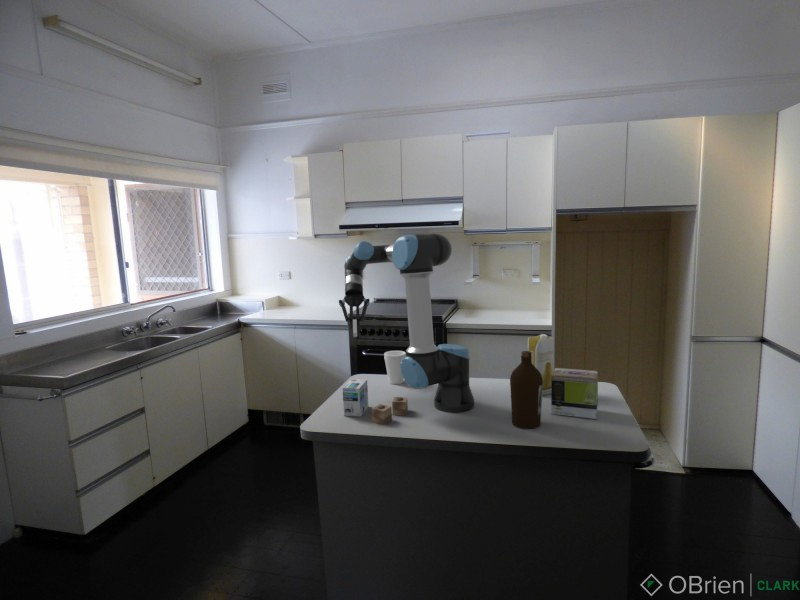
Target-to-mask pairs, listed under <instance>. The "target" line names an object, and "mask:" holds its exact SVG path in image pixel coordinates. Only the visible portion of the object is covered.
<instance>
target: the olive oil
mask: <svg viewBox="0 0 800 600" xmlns="http://www.w3.org/2000/svg"><path fill="white" fill-rule="evenodd" d="M531 361H532V356H531V352H530V351H528V350H522V351H521V355H520V363H519V364H518V365H517V366H516V367H515V368H514V369H513V370H512V371H511V374H510V377H509V382H510V383H509V386H510V388H509V389H510V402H511V403H510V405H511V407H510V408H511V424H512V425H513V426H514V427H516V428H518V427H519V428H518V429H523V430H534V429H538V428H539V427H540V426H541V424H542V423H541V420H542V419H541V418H542V417H541V416H542V400H543V396H542V388H543V379H542V375H541V373H540V372H539V371H538V369H537V368H536V367H535V366H534V365H533V364H532V362H531ZM533 428H534V429H533Z"/></svg>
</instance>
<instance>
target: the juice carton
mask: <svg viewBox="0 0 800 600" xmlns="http://www.w3.org/2000/svg"><path fill="white" fill-rule="evenodd" d="M554 343H555V341H554V337H553V336H549V335H547V334H544V333H541V334H538V335H537V336H529V337H527V351H530V352H531V356H532V361H531V362H532V364H533V365H534V366H535V367H536V368H537V369H538V371H539V372H540V373H541V375H542V379H543V388H542V397H543V396H546V395H551V375H552V373H553V371H554V349H555V347H554V346H555V345H554Z"/></svg>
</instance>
